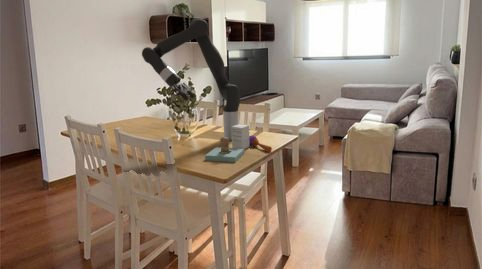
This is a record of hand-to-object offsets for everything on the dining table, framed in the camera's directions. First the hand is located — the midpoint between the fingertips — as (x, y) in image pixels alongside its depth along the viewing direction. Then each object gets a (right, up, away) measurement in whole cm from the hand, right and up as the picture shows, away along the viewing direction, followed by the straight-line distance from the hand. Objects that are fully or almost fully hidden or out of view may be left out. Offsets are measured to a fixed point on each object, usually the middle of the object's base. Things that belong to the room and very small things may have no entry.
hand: (190, 98), depth 210 cm
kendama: (+37, -27, +8) cm, 47 cm away
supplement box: (+27, -27, +9) cm, 39 cm away
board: (+19, -31, -8) cm, 37 cm away
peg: (+19, -31, -8) cm, 37 cm away
